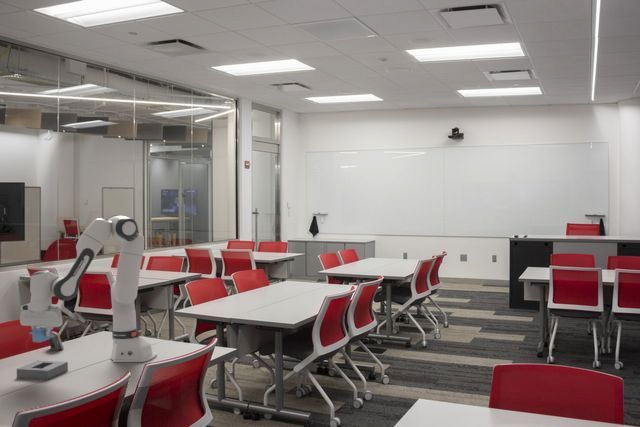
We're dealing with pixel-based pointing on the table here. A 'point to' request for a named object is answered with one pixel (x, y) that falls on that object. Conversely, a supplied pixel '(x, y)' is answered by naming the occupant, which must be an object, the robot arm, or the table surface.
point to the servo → (40, 334)
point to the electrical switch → (55, 341)
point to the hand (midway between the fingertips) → (41, 335)
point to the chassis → (42, 369)
